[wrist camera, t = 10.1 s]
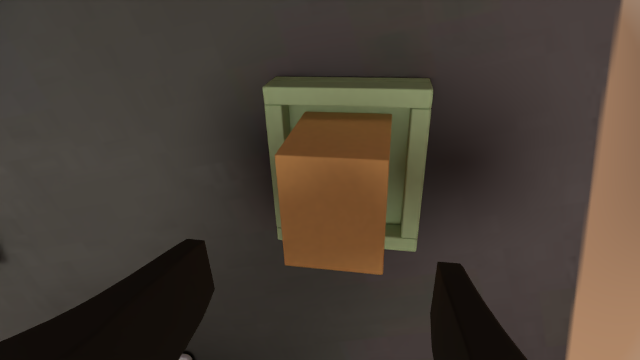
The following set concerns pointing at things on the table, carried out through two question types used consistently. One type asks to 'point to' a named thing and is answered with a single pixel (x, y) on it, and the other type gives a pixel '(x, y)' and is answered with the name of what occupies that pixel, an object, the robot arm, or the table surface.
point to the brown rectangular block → (335, 191)
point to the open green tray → (363, 97)
